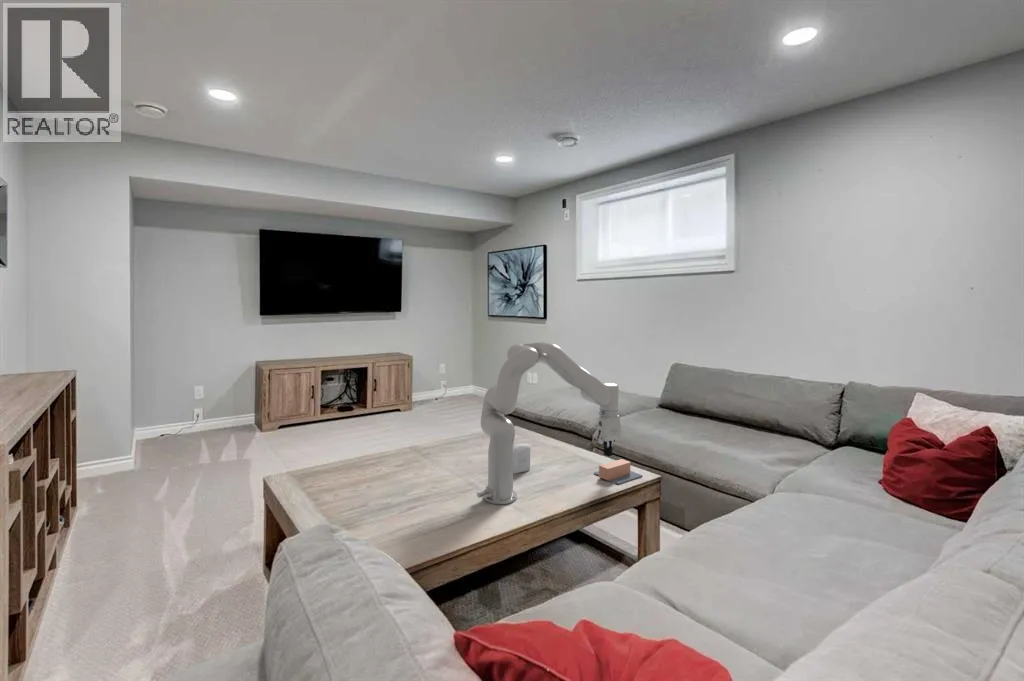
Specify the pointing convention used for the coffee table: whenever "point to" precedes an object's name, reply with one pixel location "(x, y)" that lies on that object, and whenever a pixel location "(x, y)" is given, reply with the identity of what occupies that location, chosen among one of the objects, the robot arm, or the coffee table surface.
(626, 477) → the mat
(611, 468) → the terracotta block
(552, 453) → the coffee table surface
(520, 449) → the photo printer
